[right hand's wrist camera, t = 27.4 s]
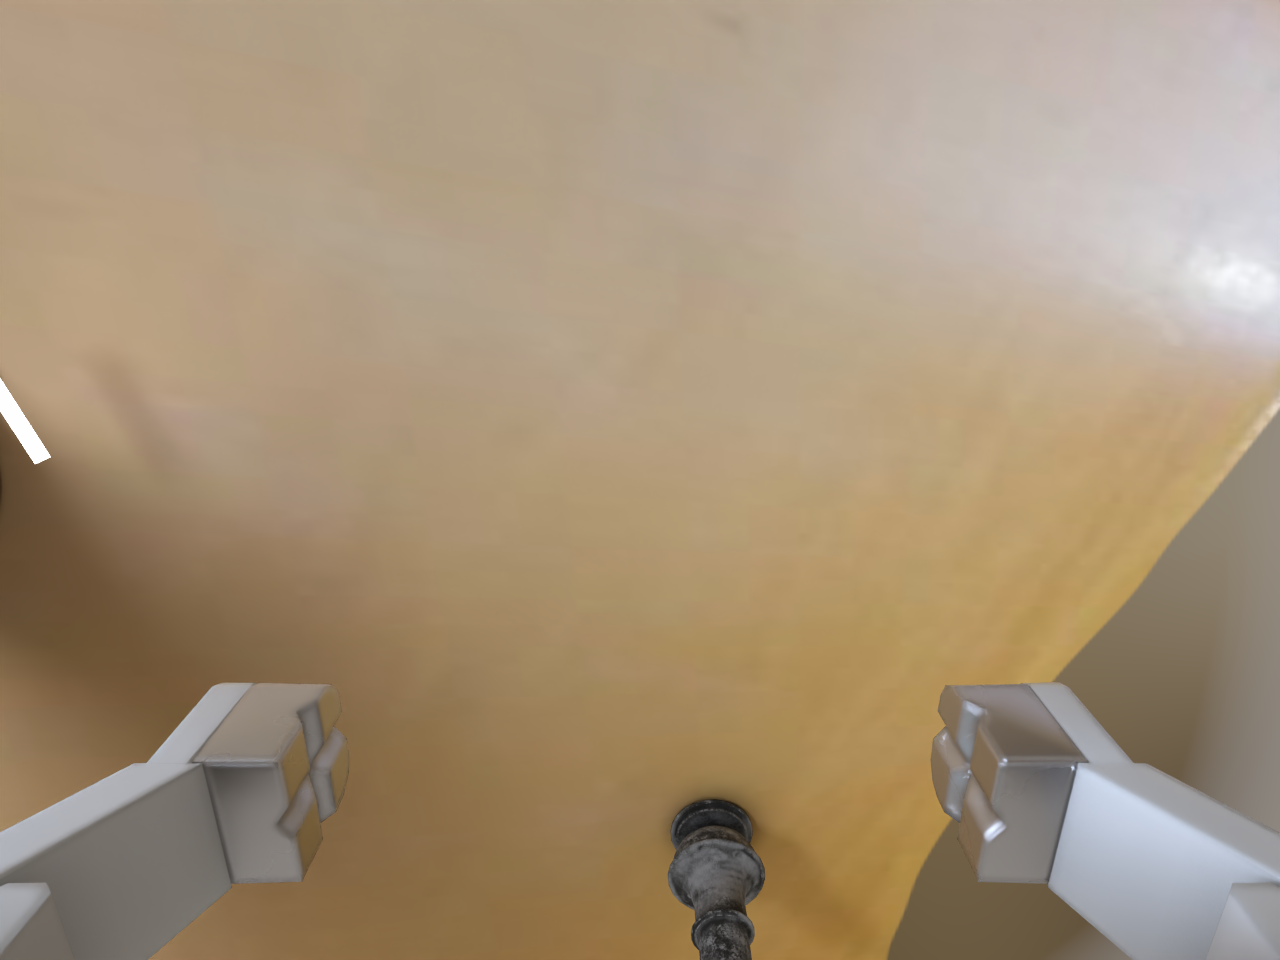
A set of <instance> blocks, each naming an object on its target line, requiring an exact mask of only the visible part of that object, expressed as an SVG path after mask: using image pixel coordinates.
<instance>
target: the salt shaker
mask: <svg viewBox="0 0 1280 960" xmlns="http://www.w3.org/2000/svg"><path fill="white" fill-rule="evenodd" d="M751 838H752V824H751V822H750V819H749V817H748V816H747V815H746V813H745V812H744V811H743V810H742V809H740V808H739V807H737V806H736V805H734V804H732V803H729V802H726V801H721V800H703V801H700V802H696V803H693V804H691V805H690V806H688V807H686V808H684V809H683V810H682V811H681V812H680V813H679V814H678V815H677V816H676V818H675V819H674V821H673V823H672V827H671V840H672V843H673V845H674V847H675V849H676V850H677V851H676V853H675V856H674V860H673V861H672V863H671V864H670V868H669V872H668V881H669V887H670V889H671V891H672V893H673V895H674V896H675V897H676V898H677V899H678V900H679V901H680V902H681V903H683V904H684V905H686V906H687V907H689V908H691V909H694V910H695V919H696V921H695V923H694V925H693V926H692V930H691V938H692V941H693V944H694V945H695V947H696V948H697V949H698V950H699V953H700V960H752V957H751V951H750V945H751V943H752V942H753V939H754V936H755V933H754V926H753V924H752V922H751V920H750V919H749V918H748V917H747V914H746V907H745V905H747V904H748V903H749V902H751V901H752V900H753V899H754V898H755V897H756V896H757V895H758V893H759V892H760V891H761V889H762V887H763V884H764V880H765V869H764V866H763V863H762V861H761V859H760V857H759V856H758V855H757V854H756V853H755V851H754V849H753V848H752V846H751V845H750V841H751Z"/></svg>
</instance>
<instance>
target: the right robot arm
mask: <svg viewBox="0 0 1280 960" xmlns="http://www.w3.org/2000/svg"><path fill="white" fill-rule="evenodd" d="M0 411H1V413H2V414H3V416H4V417H5V419H6V420H7V422H8V423H9V425H10V426H11V428H12V429H13V431H14V432H15V434H16V436H17V437H18V439H19V440H20V442H21V443H22V445H23V446H24V448H25V449H26V451H27V452H28V454H29V455H30V457H31V458H32V460H33V462H34V463H38V462H41V461H43V460H45V459H47V458H49V457H50V455H49V454H48V452H47V451H46V449H45V447H44V446H43V444H42V443H41V441H40V440H39V438H38V437H37V435H36V433H35V432H34V430H33V429H32V427H31V426H30V424H29V423H28V421H27V419H26V418H25V416H24V415H23V413H22V412H21V410H20V409H19V407H18V405H17V404H16V402H15V401H14V399H13V398H12V396H11V395H10V393H9V391H8V390H7V388H6V387H5V385H4V384H3V382H2V381H1V379H0ZM341 712H342V708H341V703H340V698H339V693H338V690H337V689H336V688H335V687H334V686H333V685H332V684H292V683H258V684H257V683H220V684H217V685H215V686H212V687H211V688H210V690H209V691H208V692H207V693H206V694H205V695H204V697H203V698H202V699H201V700H200V701H199V702H198V704H197V705H196V706H195V707H194V708H193V709H192V711H191V712H190V713H189V714H188V715H187V716H186V717H185V719H184V720H183V721H182V722H181V723H180V724H179V726H178V727H177V728H176V729H175V730H174V731H173V733H172V734H171V735H170V736H169V737H168V738H167V740H166V741H165V742H164V743H163V744H162V745H161V747H160V748H159V749H158V750H157V751H156V752H155V754H154V755H153V756H152V757H151V758H150V759H149V760H148V762H147V763H134V764H132V765H130V766H128V767H126V768H124V769H122V770H120V771H118V772H116V773H114V774H112V775H110V776H108V777H106V778H104V779H103V780H101V781H99V782H97V783H95V784H93V785H91V786H89V787H87V788H85V789H83V790H81V791H79V792H77V793H75V794H74V795H72V796H70V797H68V798H66V799H64V800H62V801H60V802H58V803H56V804H54V805H52V806H50V807H48V808H46V809H45V810H43V811H41V812H39V813H37V814H35V815H33V816H31V817H29V818H27V819H25V820H23V821H21V822H19V823H17V824H16V825H14V826H12V827H10V828H8V829H6V830H4V831H2V832H0V960H148V959H149V958H150V957H151V956H152V955H154V954H155V953H156V952H157V951H158V950H159V949H161V948H162V947H163V946H164V945H165V944H166V943H168V942H169V941H170V940H171V939H172V938H174V937H175V936H176V935H177V934H178V933H179V932H181V931H182V930H183V929H184V928H185V927H186V926H188V925H189V924H190V923H191V922H192V921H193V920H195V919H196V918H197V917H198V916H199V915H200V914H202V913H203V912H204V911H205V910H206V909H207V908H209V907H210V906H211V905H212V904H213V903H214V902H216V901H217V900H218V899H219V898H220V897H221V896H223V895H224V894H225V893H226V892H227V891H228V890H230V889H231V888H232V884H236V883H270V882H302V880H303V878H304V876H305V874H306V872H307V870H308V868H309V866H310V864H311V862H312V860H313V858H314V856H315V854H316V852H317V850H318V848H319V846H320V844H321V842H322V840H323V837H322V831H321V825H320V823H321V822H322V821H324V820H325V819H327V818H328V817H329V816H331V815H332V814H334V813H335V812H336V811H337V808H338V806H339V804H340V802H341V800H342V797H343V795H344V791H345V787H346V782H347V778H348V773H349V751H348V744H347V739H346V738H345V737H344V736H343V734H342V733H341V732H340V731H339V730H338V729H337V728H336V727H335V726H334V725H335V723H336V721H337V720H338V718H339V716H340V714H341ZM938 712H939V714H940V716H941V718H942V720H943V721H944V723H945V725H946V726H945V727H944V728H943V729H942V730H941V731H940V732H939V733H938V734H937V736H936V737H935V738H934V739H933V745H932V753H931V769H932V780H933V784H934V788H935V791H936V795H937V798H938V800H939V802H940V804H941V806H942V808H943V811H944V812H945V813H946V814H948V815H949V816H951V817H952V818H953V819H955V820H956V821H958V822H959V823H960V825H959V831H958V837H957V839H958V842H959V844H960V846H961V848H962V850H963V852H964V854H965V856H966V858H967V860H968V862H969V864H970V866H971V868H972V870H973V872H974V874H975V876H976V878H977V880H978V882H1009V883H1044V884H1048V887H1049V888H1050V889H1051V890H1052V891H1053V892H1054V893H1056V894H1057V895H1058V896H1059V897H1060V898H1061V899H1062V900H1064V901H1065V902H1066V903H1067V904H1068V905H1069V906H1071V907H1072V908H1073V909H1074V910H1075V911H1077V912H1078V913H1079V914H1080V915H1081V916H1082V917H1083V918H1085V919H1086V920H1087V921H1088V922H1089V923H1090V924H1092V925H1093V926H1094V927H1095V928H1096V929H1097V930H1099V931H1100V932H1101V933H1102V934H1103V935H1104V936H1106V937H1107V938H1108V939H1109V940H1110V941H1111V942H1113V943H1114V944H1115V945H1116V946H1117V947H1118V948H1120V949H1121V950H1122V951H1123V952H1124V953H1125V954H1127V955H1128V956H1129V957H1130V958H1131V959H1132V960H1280V832H1278V831H1276V830H1274V829H1272V828H1270V827H1268V826H1266V825H1264V824H1262V823H1260V822H1258V821H1256V820H1254V819H1253V818H1251V817H1249V816H1247V815H1245V814H1243V813H1241V812H1239V811H1237V810H1235V809H1233V808H1231V807H1229V806H1227V805H1226V804H1224V803H1222V802H1220V801H1218V800H1216V799H1214V798H1212V797H1210V796H1208V795H1206V794H1204V793H1202V792H1200V791H1199V790H1197V789H1195V788H1193V787H1191V786H1189V785H1187V784H1185V783H1183V782H1181V781H1179V780H1177V779H1175V778H1174V777H1172V776H1170V775H1168V774H1166V773H1164V772H1162V771H1160V770H1158V769H1156V768H1154V767H1152V766H1150V765H1148V764H1146V763H1133V762H1132V761H1131V759H1130V758H1129V757H1128V756H1127V755H1126V754H1125V752H1124V751H1123V750H1122V749H1121V748H1120V747H1119V745H1118V744H1117V743H1116V742H1115V741H1114V740H1113V738H1112V737H1111V736H1110V735H1109V734H1108V733H1107V731H1106V730H1105V729H1104V728H1103V727H1102V726H1101V725H1100V723H1099V722H1098V721H1097V720H1096V719H1095V718H1094V716H1093V715H1092V714H1091V713H1090V712H1089V711H1088V710H1087V708H1086V707H1085V706H1084V705H1083V704H1082V702H1081V701H1080V700H1079V699H1078V698H1077V697H1076V695H1075V694H1074V693H1073V692H1072V691H1071V690H1070V689H1069V687H1067V686H1065V685H1063V684H1061V683H1059V682H1049V683H1021V684H1008V685H945V687H944V689H943V691H942V693H941V696H940V701H939V707H938Z"/></svg>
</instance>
